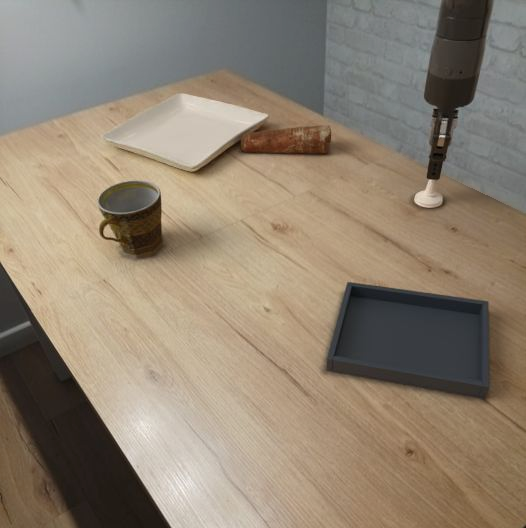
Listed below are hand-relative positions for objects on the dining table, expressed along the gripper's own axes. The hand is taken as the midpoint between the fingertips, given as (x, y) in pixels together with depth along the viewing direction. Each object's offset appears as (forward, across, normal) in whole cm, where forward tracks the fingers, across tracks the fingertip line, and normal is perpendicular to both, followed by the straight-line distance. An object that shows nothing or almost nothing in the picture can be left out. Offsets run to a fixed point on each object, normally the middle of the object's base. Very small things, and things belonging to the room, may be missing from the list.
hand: (433, 174), depth 90 cm
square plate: (+5, +16, +53) cm, 56 cm away
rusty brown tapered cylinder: (+6, +14, +30) cm, 34 cm away
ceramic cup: (+5, -25, +46) cm, 53 cm away
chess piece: (+5, 0, 0) cm, 5 cm away
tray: (+6, -36, 0) cm, 37 cm away
